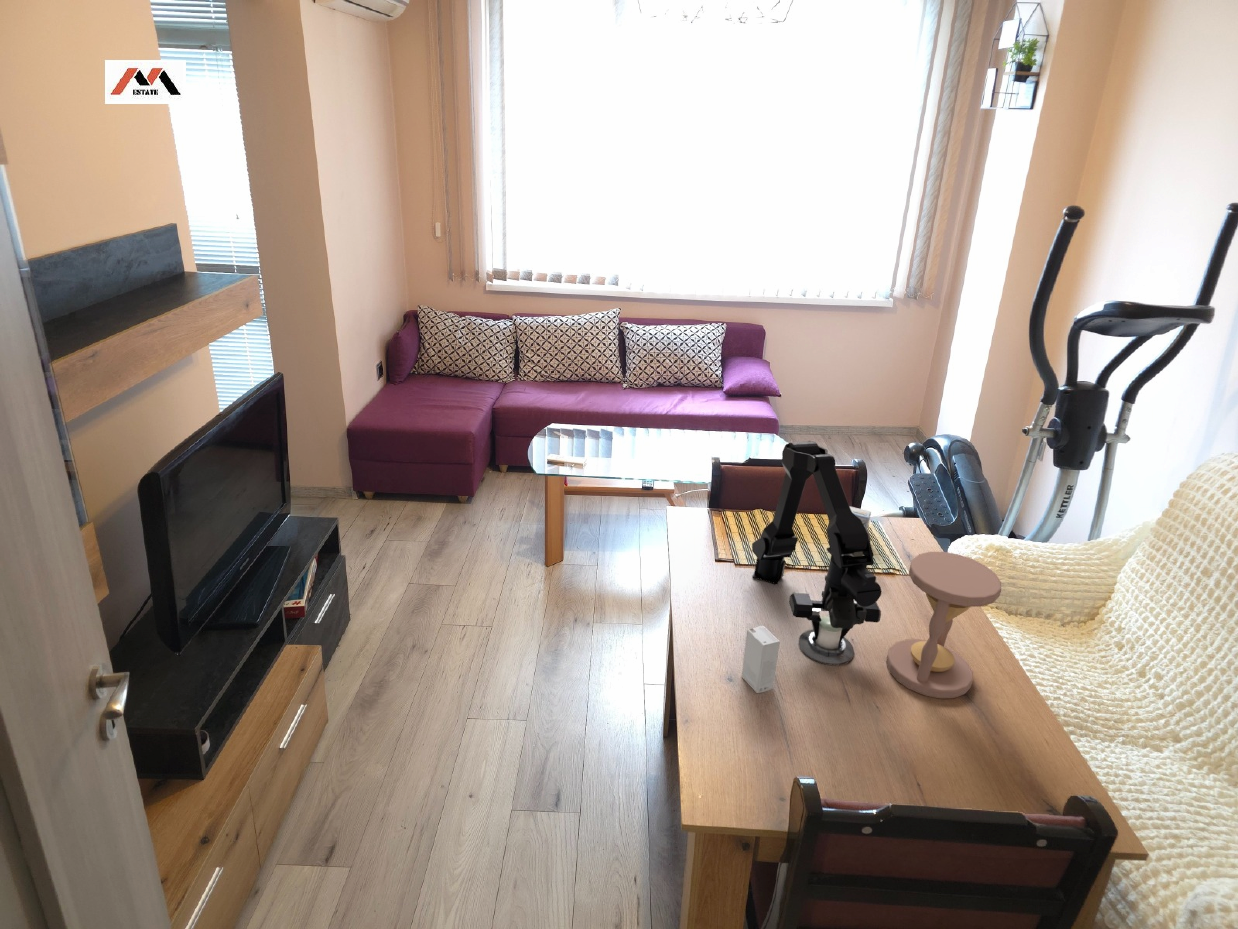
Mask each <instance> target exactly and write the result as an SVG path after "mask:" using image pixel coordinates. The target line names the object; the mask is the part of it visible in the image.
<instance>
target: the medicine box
mask: <svg viewBox="0 0 1238 929" xmlns="http://www.w3.org/2000/svg"><path fill="white" fill-rule="evenodd" d="M850 509H851V511H852V513H853V514H855V515H856V516H857V517H858V518H859V519H860V520H861V521H862V523H865V524H864V527H865V528H866V529H867V530H868V528H869V523H870V518H871V515H872V511H870V510H866V509H863V508H858V507H854V506H850Z"/></svg>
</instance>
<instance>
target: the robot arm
mask: <svg viewBox="0 0 1238 929" xmlns="http://www.w3.org/2000/svg"><path fill="white" fill-rule="evenodd" d="M828 452H829V450H828V449H827V448H824V447H822V446H820V445H818V443H817V442H816V441H813V440H812V441H811V440H810V441H797V442H796V441H795V442H793V441H792V442H788V443H786V444H785V445H784V447H783V449H782V452H781V453H782V454H781V455H782V458H781V464H782V466H783V470H784V472H785V475H784V479H783V482H782V485H781V488H780V492H779V497H778V500H777V505H776V508H775V511H774V514H773V519H772V521H771V522H769V524H767V525H766V526H765V527H764V528H763V530H762V532H761V535H760V537H759V538H758V539H756V540H755V541H753V542H752V544H751V551H752V553H753V554H754V555H755V557H756V562H755V565H754V566H755V568H754V571H753V574H752V576H751V577H752V578H753V579H757V580H760V581H764V582H767V583H771V584H774V585H778V584H779V582H780V580H782V579H783V576H784V574H785V567H786V560H785V558H791V557H792V554H793V553H794V552H795V551H796V547H797V544H798V541H799V539H798V537H797V535H796V534H795V532H794V524H795V521H796V517H797V514H798V511H799V506H800V504H801V503H800V502H801V500H802V497H803V492H804V490H805V486H806V484H807V483H806V482H807V480H808V479H809V478H811V476H813V479H814V482H815V484H816V488H817V490H818V492H819V496H820V498H821V501H822V503H823V504H822V505H823V507H824V510H825V513H826V516H827V519H828V525H827V529H826V534H827V540H828V547H827V548H826V551H827V553H829V554H830V559H829V564H828V570H827V574H826V575H824V581H825V584H824V589H823V591H821V597H822V598H821V600H813V599H811V596H810V593H808V592H807V593H804V592H792V593H791V594H790V595H789V600H788V604H789V607H790V610H791V614H792V616H793V617H795V618H802V619H805V618H806V619H807V620H808V621H811V627H812V630H813V632H814V637H815V639H817V638H818V634H819V624H820V621H821V618H822V617H821V616H820V614H821V613H820V612H828V616H829V617H830V624H831V626H832V627H833V628H842V631H841V636H840V640H839V641H841V640H842V639H843V638H844V637H845V638H846V636H847V635H848V632H849V631H850V630H852V629H853V628H854V626H855V625H863V624H864V623H866V622H867V623H879V622H880V620H881V616H882V611H881V609H880V606H879V605H878V601H879V599H880V597H881V595H882V593H883V592H882V587H881V585H880V584H879V583H878V582H877V577H876V575H875V574H874V573H872V572H871V571H870V570H869V569H867V568H868V567H867V566H874V565H875V564H874V563H875V562H874V556H875V554H874V551H873V549H872V544H871V541H870V538H869V535H868V533H867V531H868V530H867V531H866V529H865V527H864V525H863V523H862V521H861V520H860V519H859V518H858V517H857V516H856V515H855V514H853V513H852V511H851V509H850V507H851V506H850V504H849V502H848V499H847V496H846V493H845V490H844V488H843V485H842V482H841V479H840V477H839V474H838V472H837V468H836V459H835V457H834V455H832V454H830V453H828ZM862 552H863V556H856V557H854V556H853V555H852V554H853V553H862Z"/></svg>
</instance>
